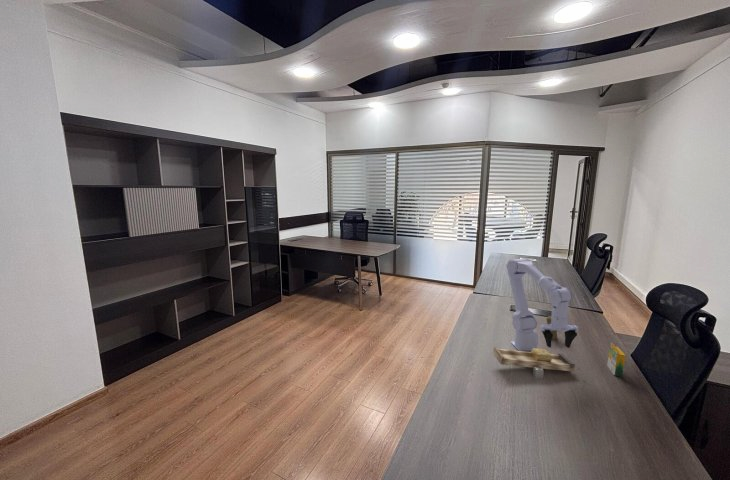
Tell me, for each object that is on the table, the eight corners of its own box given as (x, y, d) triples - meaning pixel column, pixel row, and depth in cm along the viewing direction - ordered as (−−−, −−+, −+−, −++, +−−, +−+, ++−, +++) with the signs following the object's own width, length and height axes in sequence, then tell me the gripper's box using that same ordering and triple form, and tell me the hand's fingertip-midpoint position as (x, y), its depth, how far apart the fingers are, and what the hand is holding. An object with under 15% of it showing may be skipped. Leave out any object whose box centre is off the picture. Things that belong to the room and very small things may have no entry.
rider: (543, 357, 129) (545, 349, 129) (550, 364, 124) (552, 355, 124) (530, 356, 129) (532, 347, 129) (536, 362, 124) (538, 354, 124)
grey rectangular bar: (525, 359, 134) (526, 351, 134) (542, 378, 121) (543, 369, 120) (518, 359, 134) (519, 351, 134) (535, 378, 121) (536, 369, 120)
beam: (560, 361, 132) (562, 353, 131) (573, 373, 123) (575, 364, 122) (492, 354, 131) (493, 346, 131) (501, 366, 123) (502, 357, 122)
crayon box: (622, 377, 121) (627, 351, 119) (614, 375, 122) (618, 350, 120) (615, 367, 128) (618, 342, 126) (606, 365, 129) (610, 341, 127)
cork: (555, 334, 157) (557, 315, 155) (558, 340, 151) (561, 320, 149) (542, 333, 159) (544, 314, 157) (545, 338, 153) (547, 318, 151)
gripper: (546, 319, 120) (545, 350, 122) (583, 319, 119) (581, 351, 120) (538, 313, 127) (536, 343, 129) (573, 313, 126) (571, 343, 127)
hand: (557, 346), depth 125 cm, fingers open, 7 cm apart
